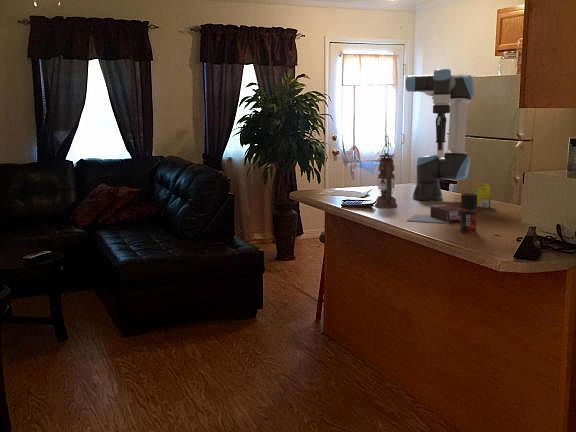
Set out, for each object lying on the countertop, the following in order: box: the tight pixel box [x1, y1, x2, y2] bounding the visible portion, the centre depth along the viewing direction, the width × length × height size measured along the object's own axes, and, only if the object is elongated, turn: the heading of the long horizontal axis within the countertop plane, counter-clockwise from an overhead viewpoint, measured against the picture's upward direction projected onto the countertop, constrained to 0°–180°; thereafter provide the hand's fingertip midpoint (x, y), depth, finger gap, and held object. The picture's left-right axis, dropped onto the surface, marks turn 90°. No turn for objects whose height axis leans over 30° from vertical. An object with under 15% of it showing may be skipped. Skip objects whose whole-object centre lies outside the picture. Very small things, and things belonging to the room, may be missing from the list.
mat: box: [406, 213, 451, 225], centre depth 274 cm, size 15×18×1 cm
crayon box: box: [473, 182, 492, 209], centre depth 302 cm, size 7×3×12 cm, turn 57°
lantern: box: [374, 135, 398, 209], centre depth 306 cm, size 11×16×35 cm
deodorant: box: [459, 192, 478, 234], centre depth 246 cm, size 6×6×15 cm
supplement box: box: [429, 204, 461, 223], centre depth 273 cm, size 9×5×16 cm
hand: (440, 156), depth 284 cm, fingers closed
